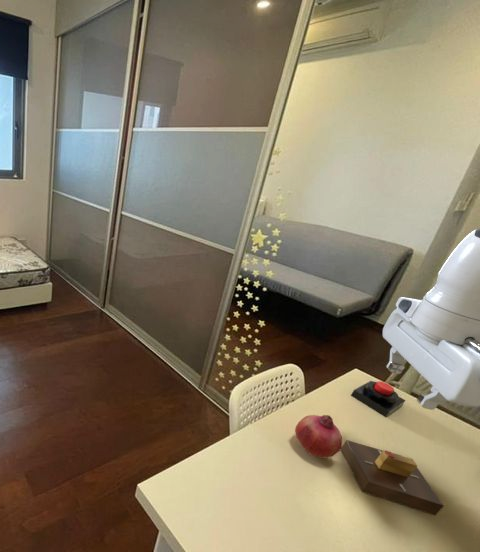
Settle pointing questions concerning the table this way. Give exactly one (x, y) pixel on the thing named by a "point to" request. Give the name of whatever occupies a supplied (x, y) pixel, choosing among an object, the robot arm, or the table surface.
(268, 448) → the table surface
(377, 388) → the bell button
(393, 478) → the plate
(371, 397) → the bell block
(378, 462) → the block
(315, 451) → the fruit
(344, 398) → the table surface
